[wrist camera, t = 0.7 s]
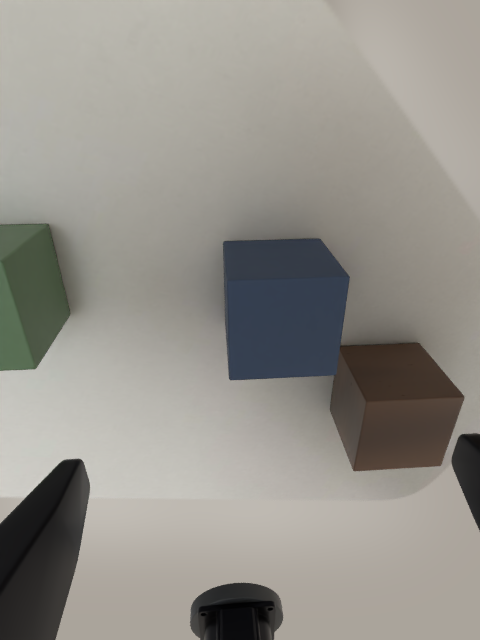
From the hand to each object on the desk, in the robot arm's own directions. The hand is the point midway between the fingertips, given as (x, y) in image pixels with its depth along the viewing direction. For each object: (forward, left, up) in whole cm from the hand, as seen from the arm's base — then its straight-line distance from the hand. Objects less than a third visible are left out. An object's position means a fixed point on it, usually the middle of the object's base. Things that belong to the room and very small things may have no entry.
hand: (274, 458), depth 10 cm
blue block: (0, -1, -11) cm, 11 cm away
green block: (+1, +11, -11) cm, 15 cm away
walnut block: (-6, -7, -11) cm, 15 cm away
